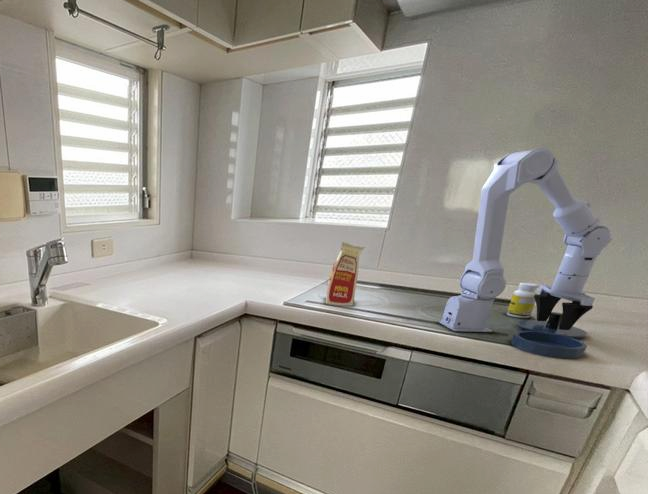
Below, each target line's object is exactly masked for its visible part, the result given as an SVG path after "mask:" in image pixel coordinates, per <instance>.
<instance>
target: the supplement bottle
mask: <svg viewBox="0 0 648 494" xmlns="http://www.w3.org/2000/svg"><path fill="white" fill-rule="evenodd" d="M538 286H539V285H538V284H537V283H533V282H520V283H519V284H518V289H516V290H514V292H512V297H511V299H510V302H509V304H508V308H507V312H506V315H507V316H509V317H512V318H517V319H528V318H530V317H531V315H532V312H533V309H534V306H535V304H536V301H535V298H534V295H535V294H538V291H536V290H538Z"/></svg>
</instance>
